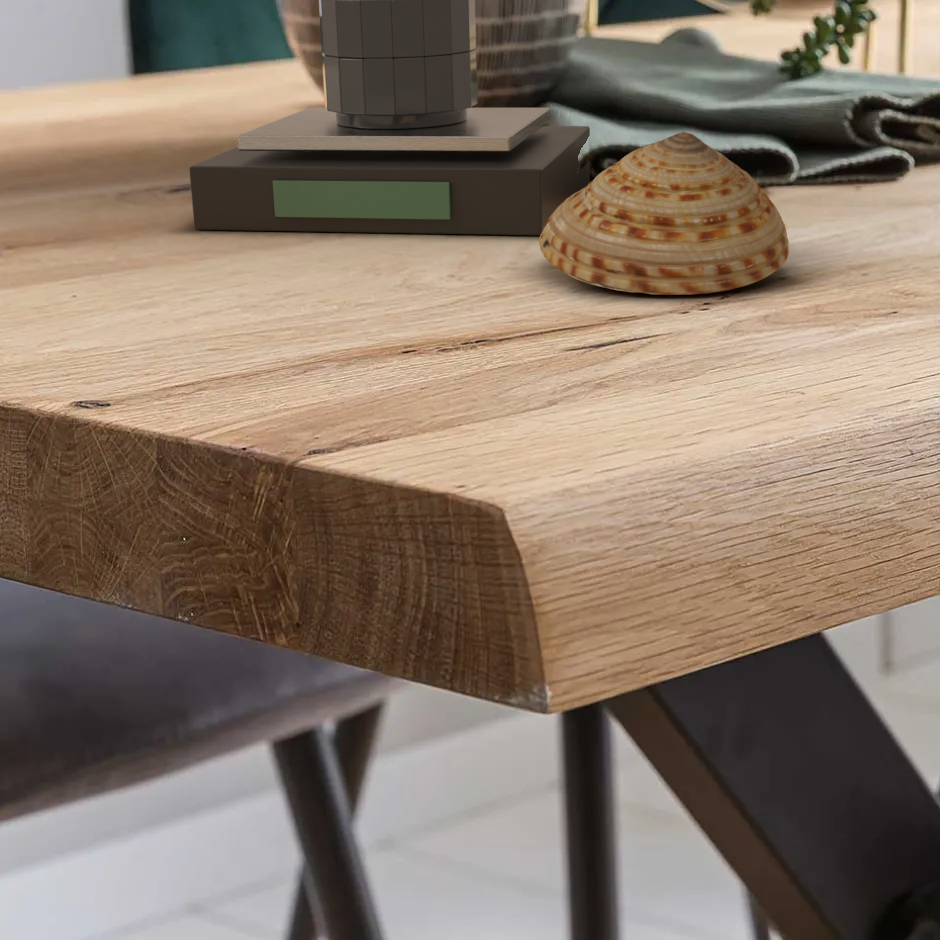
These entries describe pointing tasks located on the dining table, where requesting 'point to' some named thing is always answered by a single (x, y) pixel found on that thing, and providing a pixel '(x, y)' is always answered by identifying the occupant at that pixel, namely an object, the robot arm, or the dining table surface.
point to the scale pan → (398, 133)
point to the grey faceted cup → (398, 62)
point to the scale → (392, 188)
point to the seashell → (668, 224)
